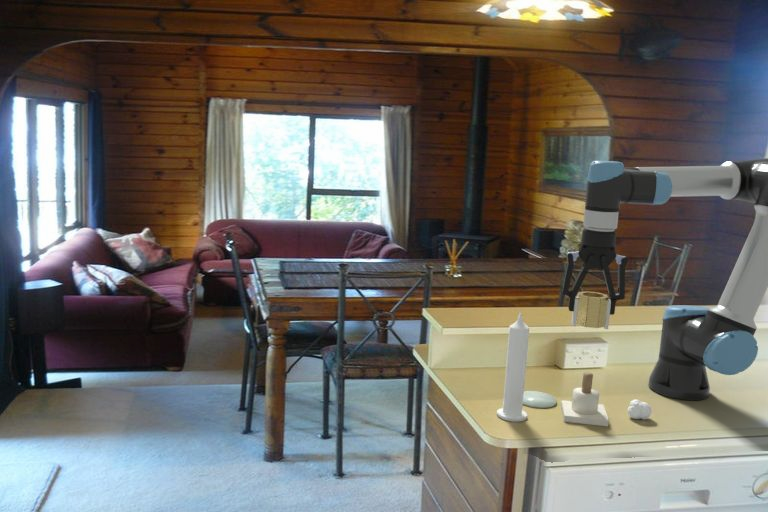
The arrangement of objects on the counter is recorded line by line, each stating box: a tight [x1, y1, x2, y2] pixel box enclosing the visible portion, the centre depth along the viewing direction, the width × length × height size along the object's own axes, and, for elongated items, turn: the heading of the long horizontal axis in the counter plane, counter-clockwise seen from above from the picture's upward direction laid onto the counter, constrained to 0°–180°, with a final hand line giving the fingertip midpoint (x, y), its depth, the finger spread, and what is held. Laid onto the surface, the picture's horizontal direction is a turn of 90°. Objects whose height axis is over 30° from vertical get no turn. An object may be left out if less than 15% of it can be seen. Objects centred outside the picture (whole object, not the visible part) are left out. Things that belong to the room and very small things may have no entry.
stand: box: [560, 371, 610, 427], centre depth 176 cm, size 10×10×10 cm
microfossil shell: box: [627, 399, 653, 421], centre depth 178 cm, size 4×5×6 cm
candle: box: [496, 312, 530, 423], centre depth 173 cm, size 7×7×25 cm
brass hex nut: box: [576, 290, 609, 329], centre depth 173 cm, size 7×7×7 cm
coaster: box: [523, 390, 558, 409], centre depth 185 cm, size 10×10×1 cm
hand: (589, 325), depth 174 cm, fingers closed on brass hex nut, 7 cm apart
